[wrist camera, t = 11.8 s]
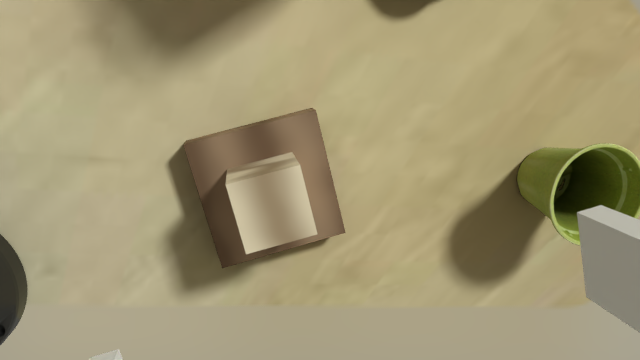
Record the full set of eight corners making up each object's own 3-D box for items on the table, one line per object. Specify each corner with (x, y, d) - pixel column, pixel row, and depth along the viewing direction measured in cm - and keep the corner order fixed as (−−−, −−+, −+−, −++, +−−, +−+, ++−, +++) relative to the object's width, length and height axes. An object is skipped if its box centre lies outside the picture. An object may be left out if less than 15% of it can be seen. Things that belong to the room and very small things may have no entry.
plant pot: (485, 201, 52) (532, 227, 44) (525, 117, 51) (582, 127, 42) (557, 230, 54) (615, 260, 46) (598, 150, 53) (665, 166, 44)
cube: (245, 230, 46) (246, 254, 40) (227, 169, 45) (225, 184, 39) (307, 213, 47) (317, 234, 41) (292, 151, 45) (300, 164, 39)
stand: (223, 258, 49) (222, 268, 47) (186, 140, 46) (183, 144, 43) (340, 224, 50) (345, 232, 48) (311, 107, 47) (315, 110, 45)
